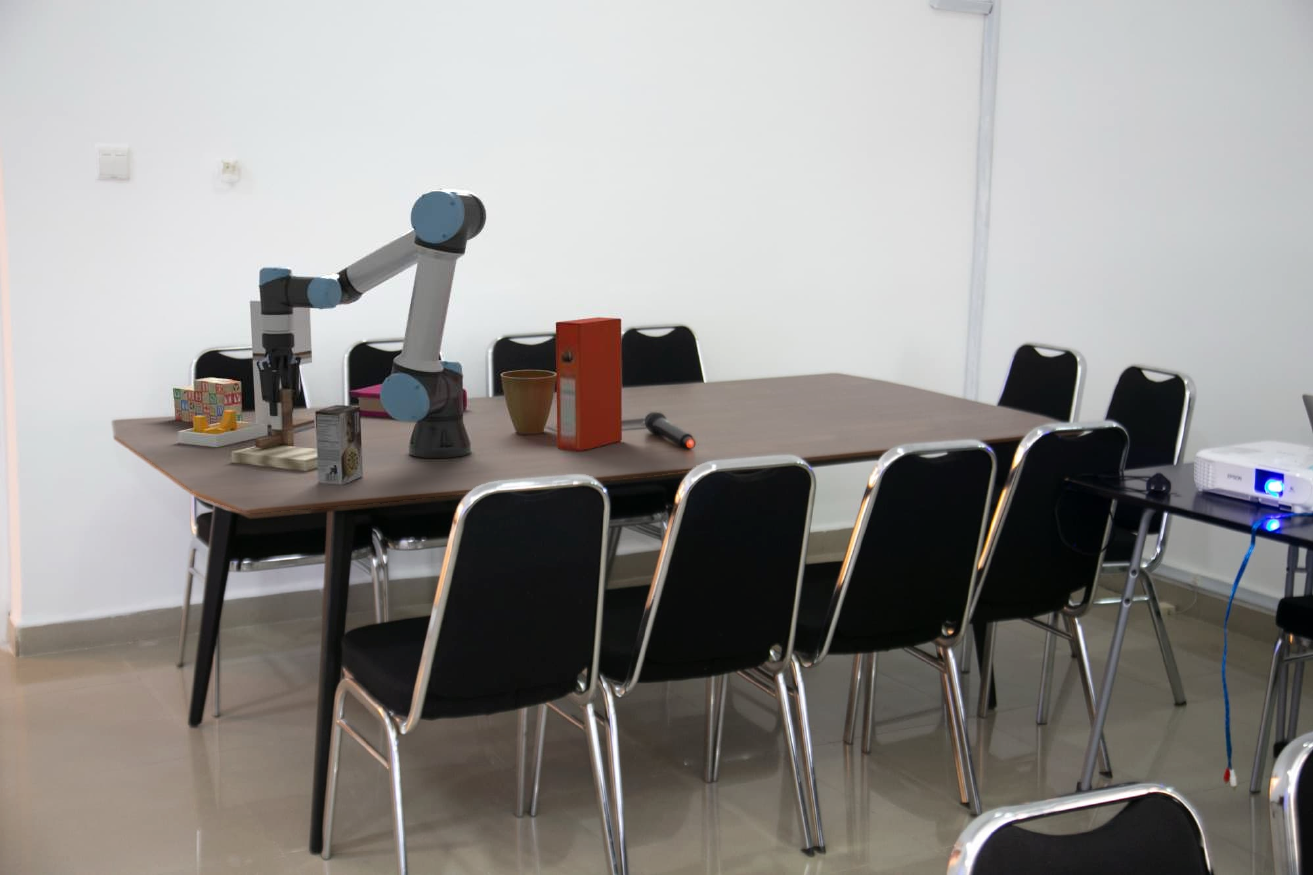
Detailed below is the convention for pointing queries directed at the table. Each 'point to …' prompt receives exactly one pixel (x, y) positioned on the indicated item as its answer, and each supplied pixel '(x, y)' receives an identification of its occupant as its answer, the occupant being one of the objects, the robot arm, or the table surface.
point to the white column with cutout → (300, 349)
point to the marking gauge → (286, 433)
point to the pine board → (278, 457)
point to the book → (379, 401)
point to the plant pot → (529, 398)
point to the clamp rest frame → (224, 435)
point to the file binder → (588, 383)
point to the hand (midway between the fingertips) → (282, 427)
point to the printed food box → (339, 444)
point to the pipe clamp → (225, 425)
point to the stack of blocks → (208, 399)
